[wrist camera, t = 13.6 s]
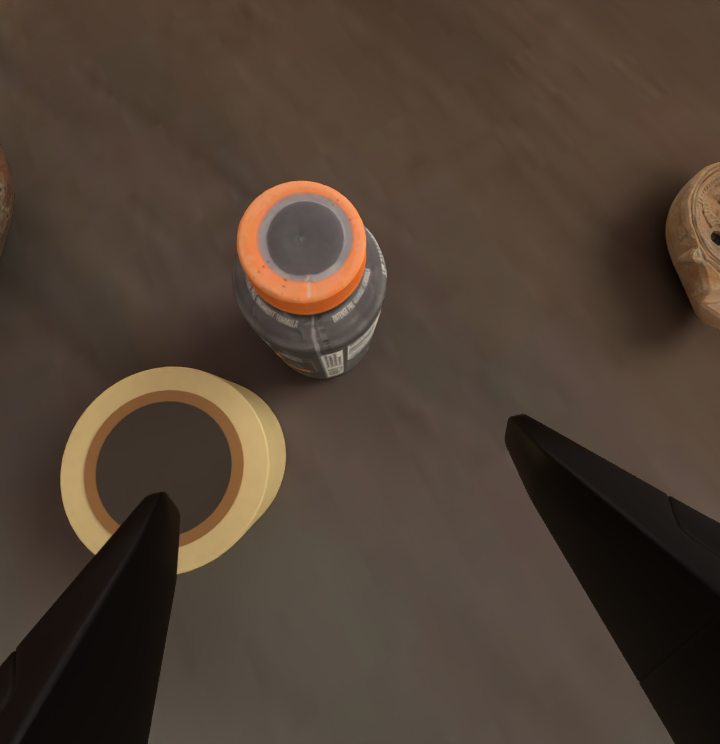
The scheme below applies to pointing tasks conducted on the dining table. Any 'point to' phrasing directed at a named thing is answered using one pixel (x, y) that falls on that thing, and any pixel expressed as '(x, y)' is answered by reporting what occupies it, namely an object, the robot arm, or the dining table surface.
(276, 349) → the pill bottle
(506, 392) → the dining table surface
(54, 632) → the robot arm
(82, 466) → the tape roll
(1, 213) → the pottery
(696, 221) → the oil lamp
